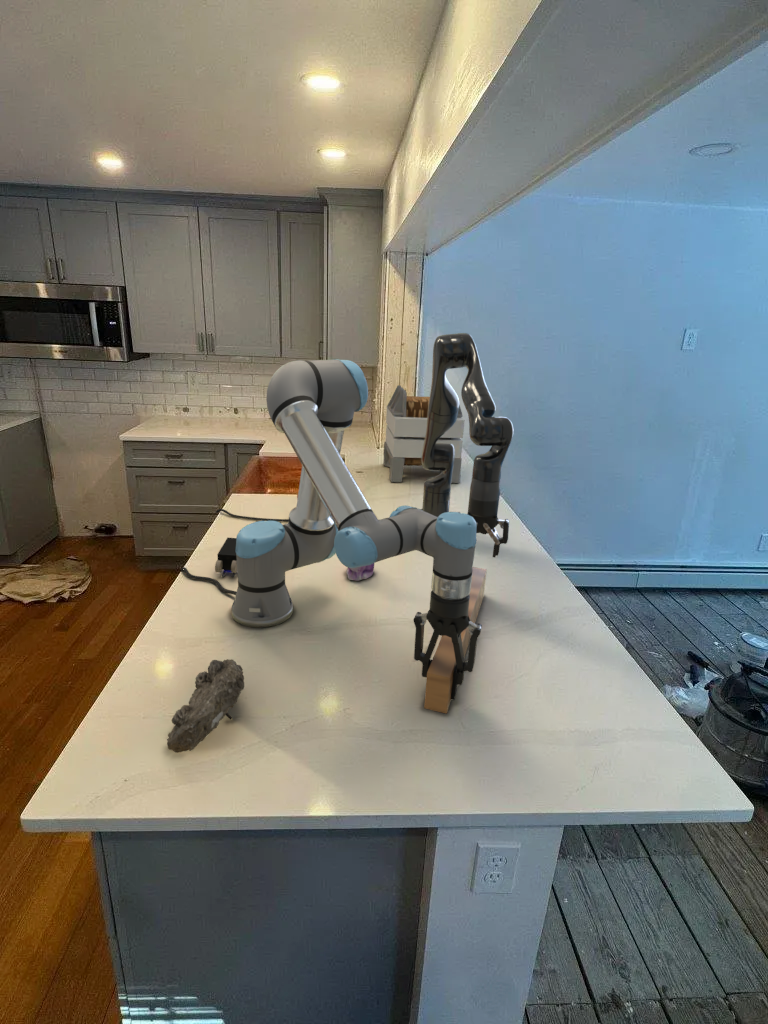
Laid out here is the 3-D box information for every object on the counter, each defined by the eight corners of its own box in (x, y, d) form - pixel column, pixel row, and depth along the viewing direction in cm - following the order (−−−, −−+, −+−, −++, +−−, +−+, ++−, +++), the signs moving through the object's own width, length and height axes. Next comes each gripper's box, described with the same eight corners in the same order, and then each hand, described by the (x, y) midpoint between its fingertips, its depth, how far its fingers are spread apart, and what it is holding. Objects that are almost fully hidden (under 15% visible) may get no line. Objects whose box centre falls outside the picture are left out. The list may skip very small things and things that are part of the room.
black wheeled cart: (238, 584, 162) (249, 557, 175) (236, 562, 158) (247, 536, 172) (215, 584, 161) (227, 556, 175) (212, 561, 158) (225, 535, 171)
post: (467, 593, 160) (470, 566, 157) (483, 596, 159) (486, 569, 156) (424, 708, 113) (427, 672, 110) (446, 713, 112) (450, 677, 109)
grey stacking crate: (382, 463, 289) (386, 382, 275) (445, 464, 293) (451, 384, 279) (390, 482, 257) (394, 392, 243) (460, 483, 261) (468, 394, 247)
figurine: (352, 584, 162) (353, 535, 156) (338, 570, 170) (339, 523, 165) (381, 578, 166) (384, 531, 161) (366, 565, 174) (368, 519, 169)
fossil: (192, 660, 117) (244, 628, 112) (224, 691, 120) (276, 661, 115) (142, 746, 98) (202, 712, 93) (182, 779, 101) (242, 748, 96)
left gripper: (401, 592, 108) (395, 693, 116) (494, 609, 103) (481, 714, 111) (411, 576, 115) (404, 673, 123) (498, 591, 110) (486, 691, 118)
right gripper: (454, 495, 142) (448, 554, 148) (511, 503, 139) (503, 563, 144) (459, 487, 149) (454, 544, 155) (514, 494, 145) (506, 552, 151)
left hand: (441, 692), depth 117 cm, fingers closed on post, 5 cm apart
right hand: (478, 553), depth 149 cm, fingers open, 8 cm apart
